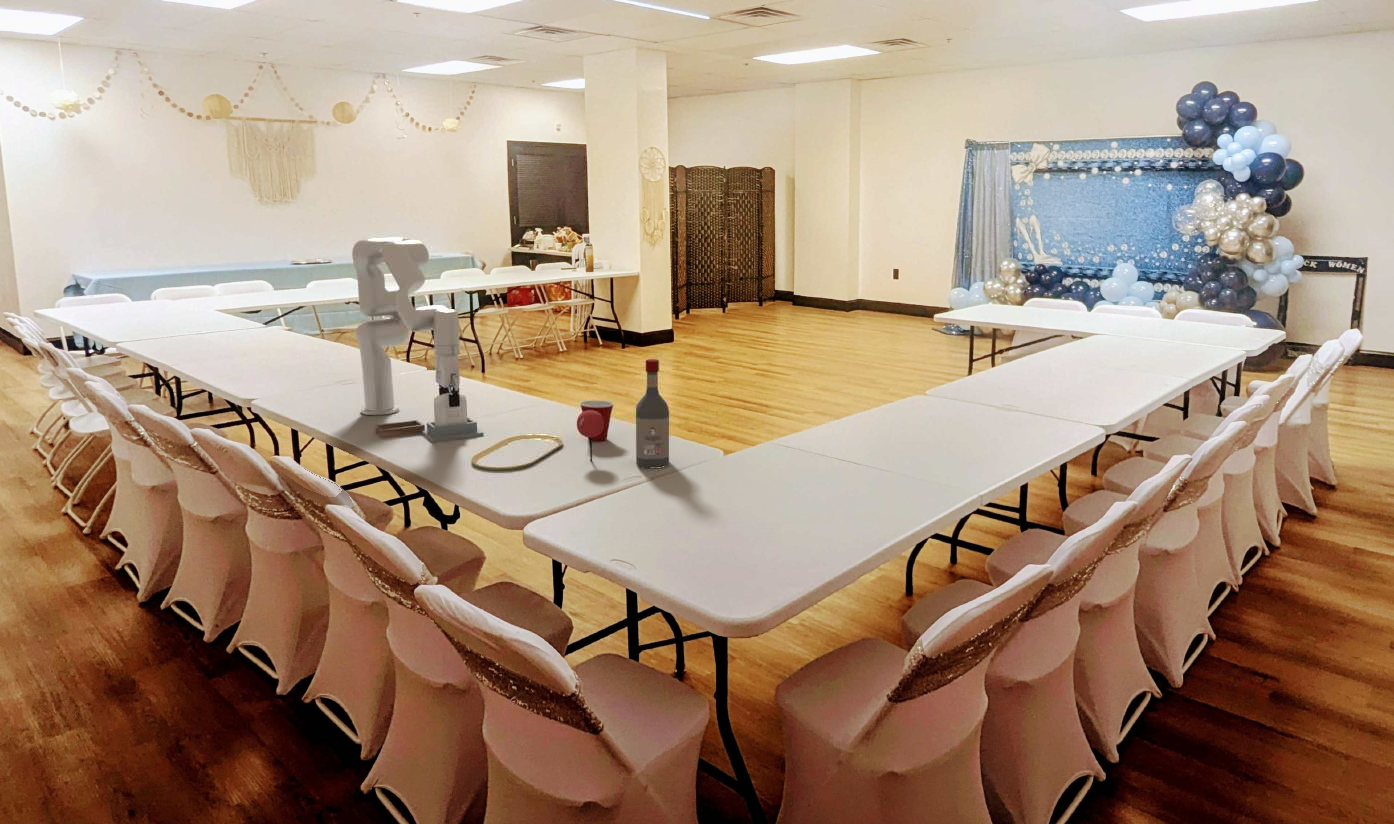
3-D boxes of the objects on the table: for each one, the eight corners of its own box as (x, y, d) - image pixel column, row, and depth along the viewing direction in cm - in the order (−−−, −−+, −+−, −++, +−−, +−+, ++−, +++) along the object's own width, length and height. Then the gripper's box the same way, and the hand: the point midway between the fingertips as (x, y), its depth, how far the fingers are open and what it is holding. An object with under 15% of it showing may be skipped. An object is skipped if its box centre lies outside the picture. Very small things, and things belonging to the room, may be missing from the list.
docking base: (421, 433, 287) (420, 421, 286) (470, 427, 295) (470, 415, 294) (432, 442, 277) (432, 430, 276) (483, 435, 285) (482, 423, 284)
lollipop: (578, 457, 263) (576, 407, 259) (604, 457, 264) (603, 407, 260) (577, 465, 256) (575, 414, 252) (604, 465, 256) (603, 413, 253)
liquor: (669, 468, 254) (669, 363, 247) (636, 468, 253) (635, 363, 246) (667, 458, 263) (667, 357, 255) (636, 459, 262) (635, 357, 255)
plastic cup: (620, 436, 286) (620, 399, 283) (606, 445, 276) (605, 407, 273) (589, 433, 289) (588, 396, 286) (574, 442, 279) (573, 404, 276)
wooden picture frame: (375, 432, 287) (374, 425, 286) (418, 427, 294) (417, 419, 293) (381, 438, 281) (380, 430, 280) (425, 432, 288) (424, 425, 287)
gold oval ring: (573, 442, 280) (572, 437, 280) (518, 475, 248) (518, 469, 247) (518, 436, 286) (518, 432, 285) (458, 468, 253) (458, 463, 253)
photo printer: (465, 427, 290) (463, 390, 287) (469, 430, 287) (467, 392, 284) (433, 432, 285) (431, 393, 282) (437, 435, 281) (435, 396, 278)
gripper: (426, 345, 284) (429, 398, 289) (443, 355, 270) (446, 410, 275) (450, 343, 288) (452, 395, 293) (468, 353, 274) (470, 408, 279)
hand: (449, 403), depth 284 cm, fingers open, 9 cm apart
